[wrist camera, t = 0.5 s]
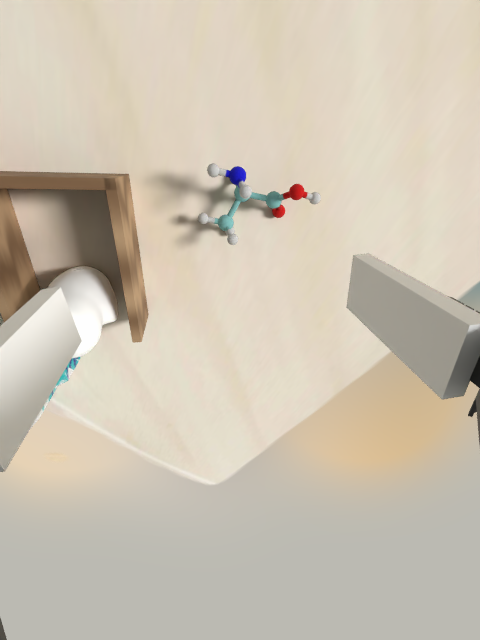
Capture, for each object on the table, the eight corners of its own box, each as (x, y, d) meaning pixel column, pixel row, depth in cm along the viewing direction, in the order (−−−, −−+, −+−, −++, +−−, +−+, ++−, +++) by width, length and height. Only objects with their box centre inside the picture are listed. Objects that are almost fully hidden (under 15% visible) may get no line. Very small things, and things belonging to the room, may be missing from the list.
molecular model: (241, 278, 37) (246, 253, 27) (192, 223, 38) (180, 179, 28) (307, 222, 38) (335, 179, 29) (259, 169, 39) (270, 108, 29)
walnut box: (-10, 171, 31) (-58, 174, 25) (128, 174, 33) (115, 178, 27) (41, 319, 40) (15, 348, 34) (148, 315, 42) (141, 341, 36)
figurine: (84, 323, 41) (49, 379, 31) (46, 277, 37) (-10, 323, 27) (129, 302, 41) (109, 353, 30) (95, 253, 37) (58, 292, 26)
